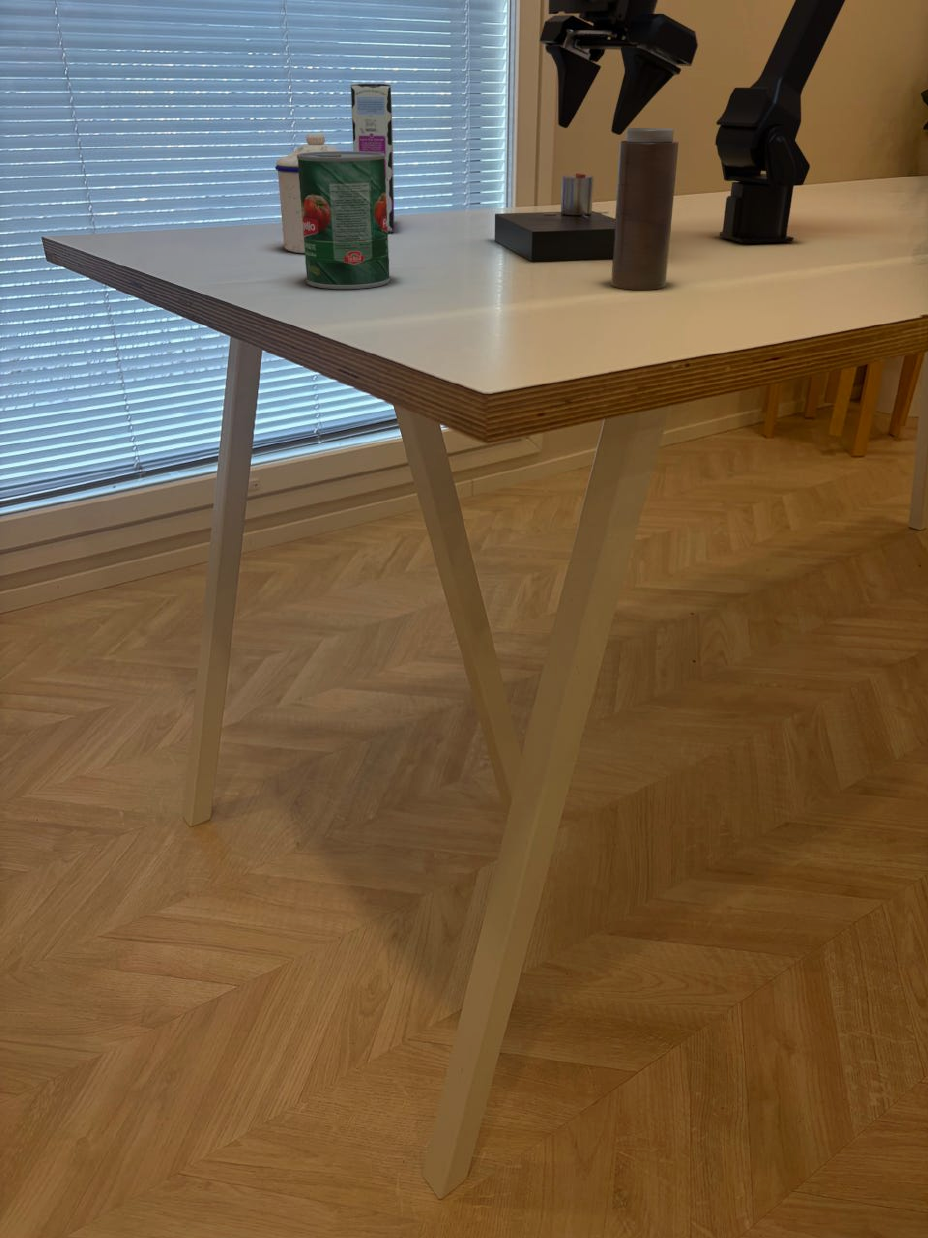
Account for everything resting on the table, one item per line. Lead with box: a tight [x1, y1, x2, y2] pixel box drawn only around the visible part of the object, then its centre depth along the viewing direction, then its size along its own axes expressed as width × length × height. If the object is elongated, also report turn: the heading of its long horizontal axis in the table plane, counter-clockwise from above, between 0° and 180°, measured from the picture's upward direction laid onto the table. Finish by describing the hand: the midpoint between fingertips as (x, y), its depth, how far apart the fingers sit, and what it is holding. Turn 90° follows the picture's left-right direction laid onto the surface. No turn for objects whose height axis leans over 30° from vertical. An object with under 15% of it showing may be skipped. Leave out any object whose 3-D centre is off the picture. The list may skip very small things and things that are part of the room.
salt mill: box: [610, 127, 679, 291], centre depth 89 cm, size 5×5×13 cm
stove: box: [494, 210, 615, 263], centre depth 111 cm, size 13×17×3 cm
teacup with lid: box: [274, 133, 340, 254], centre depth 111 cm, size 12×9×12 cm
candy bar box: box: [349, 83, 395, 233], centre depth 124 cm, size 11×5×16 cm, turn 5°
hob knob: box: [560, 172, 595, 216], centre depth 114 cm, size 4×4×4 cm
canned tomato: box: [297, 150, 391, 290], centre depth 91 cm, size 8×8×11 cm
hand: (588, 129), depth 103 cm, fingers open, 9 cm apart
